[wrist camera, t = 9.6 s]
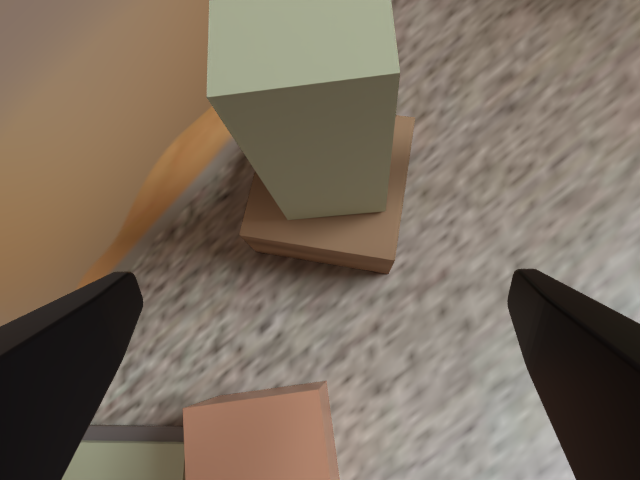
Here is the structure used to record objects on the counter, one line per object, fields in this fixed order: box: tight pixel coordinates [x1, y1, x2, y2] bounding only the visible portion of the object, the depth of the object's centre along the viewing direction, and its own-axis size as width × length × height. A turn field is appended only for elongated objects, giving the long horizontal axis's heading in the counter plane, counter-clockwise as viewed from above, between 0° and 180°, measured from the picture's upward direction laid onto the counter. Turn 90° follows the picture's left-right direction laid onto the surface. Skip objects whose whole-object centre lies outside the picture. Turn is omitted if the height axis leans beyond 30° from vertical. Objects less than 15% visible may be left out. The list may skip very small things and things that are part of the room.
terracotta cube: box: [183, 381, 340, 480], centre depth 19 cm, size 6×6×5 cm
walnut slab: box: [239, 115, 415, 274], centre depth 23 cm, size 8×8×4 cm
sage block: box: [207, 0, 400, 220], centre depth 16 cm, size 5×5×10 cm
